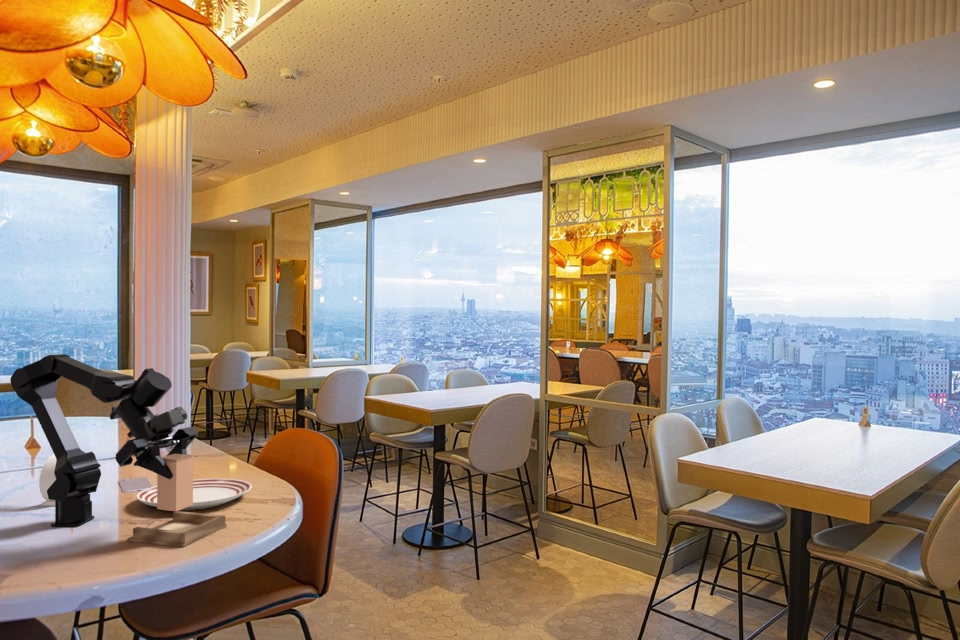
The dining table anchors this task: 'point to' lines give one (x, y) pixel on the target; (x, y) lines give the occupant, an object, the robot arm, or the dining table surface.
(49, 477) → the headphone stand
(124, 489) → the mobile phone
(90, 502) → the robot arm
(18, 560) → the dining table surface
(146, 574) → the dining table surface
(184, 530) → the square wooden tray
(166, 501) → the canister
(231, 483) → the dinner plate
